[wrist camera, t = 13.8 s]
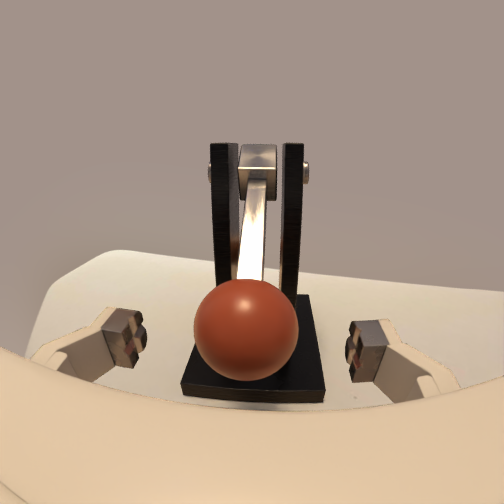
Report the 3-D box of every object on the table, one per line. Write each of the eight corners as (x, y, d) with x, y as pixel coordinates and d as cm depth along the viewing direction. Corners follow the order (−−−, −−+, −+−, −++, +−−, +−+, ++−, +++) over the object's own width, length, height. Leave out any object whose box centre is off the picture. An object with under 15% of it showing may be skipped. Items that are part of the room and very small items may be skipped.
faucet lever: (292, 390, 11) (305, 367, 8) (199, 385, 11) (172, 359, 8) (289, 183, 19) (291, 133, 16) (231, 183, 19) (226, 133, 16)
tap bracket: (322, 402, 16) (362, 146, 10) (183, 394, 16) (145, 147, 11) (307, 304, 27) (317, 145, 21) (215, 302, 27) (208, 144, 22)
